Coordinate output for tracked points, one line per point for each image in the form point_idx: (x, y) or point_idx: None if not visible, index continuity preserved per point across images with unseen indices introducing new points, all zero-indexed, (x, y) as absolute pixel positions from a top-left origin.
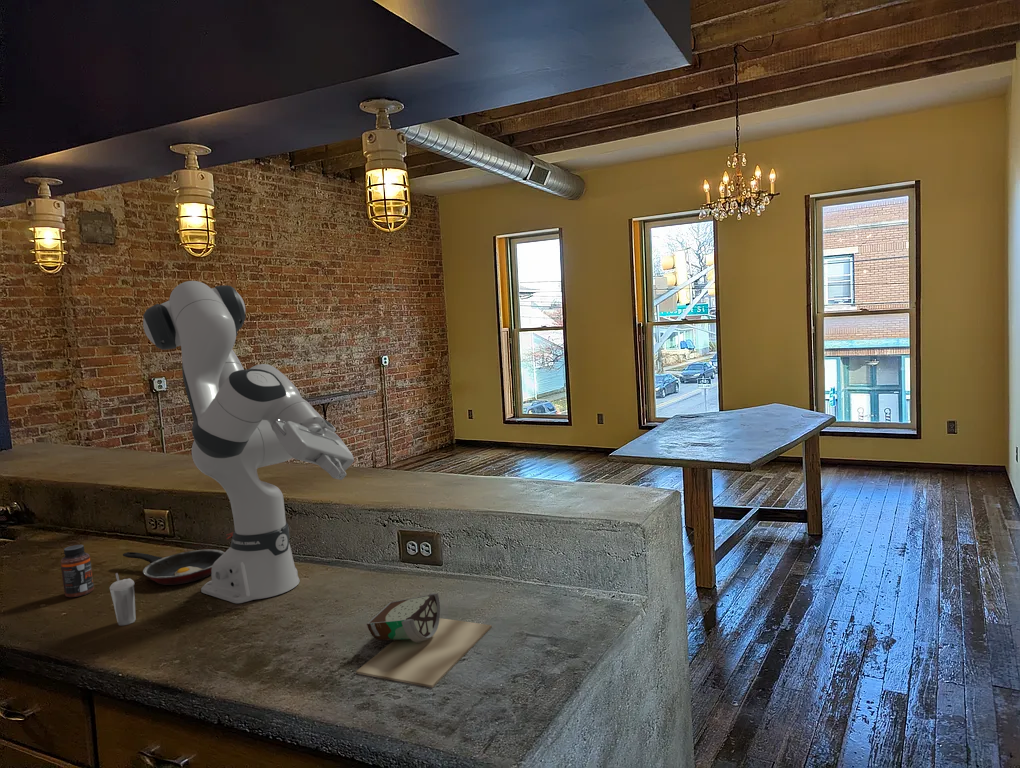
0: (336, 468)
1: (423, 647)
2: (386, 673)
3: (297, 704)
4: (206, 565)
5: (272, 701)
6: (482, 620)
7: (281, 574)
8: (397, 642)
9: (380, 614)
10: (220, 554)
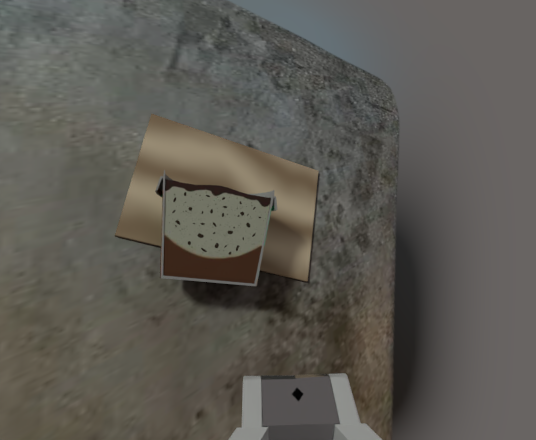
0: (353, 403)
1: None
2: (305, 235)
3: (378, 326)
4: None
5: (381, 366)
6: (124, 131)
7: None
8: None
9: (219, 274)
10: None
